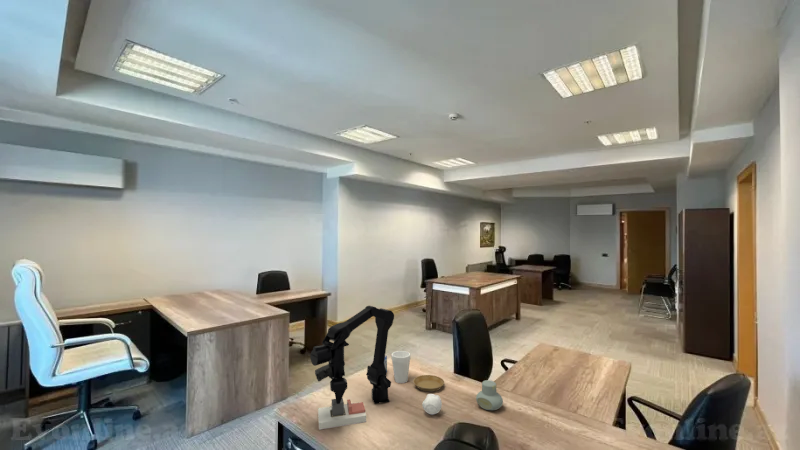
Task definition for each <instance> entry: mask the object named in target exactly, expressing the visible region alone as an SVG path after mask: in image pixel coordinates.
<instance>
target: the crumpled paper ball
mask: <svg viewBox="0 0 800 450" xmlns="http://www.w3.org/2000/svg"><path fill="white" fill-rule="evenodd" d="M442 403H443V402H442V399H441V396H440V395H438V394H434V393H428V394H426V397H425V399H424V400H423V401H422V404H421V407H422V409H423V411H424V412H425V413H427V414H428V415H437V414H438V413H439V412H440V411H441V409H442Z"/></svg>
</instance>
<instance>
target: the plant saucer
mask: <svg viewBox="0 0 800 450" xmlns="http://www.w3.org/2000/svg"><path fill="white" fill-rule="evenodd" d="M412 382H413V384H414V386H416V388H418V389H419V390H421V391H423V392H428V393H429V392H437V391H439V390H440V389H441V388H442V387H443V386H444V384H445V380H444V379H443V378H442V377H440V376H437V375H433V374H432V375H431V374H424V375H419V376H416V377H415V378H414V379H413V381H412Z"/></svg>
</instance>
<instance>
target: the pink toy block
mask: <svg viewBox="0 0 800 450" xmlns="http://www.w3.org/2000/svg"><path fill="white" fill-rule="evenodd" d="M359 402H360V403H358V402H352V401H351V399H350V398H349V399H347V400H346V404H347V407H348V412H349V414H356V413H362V412H365V413H366V408H365V405H364V401H359ZM351 403H353V404H351Z"/></svg>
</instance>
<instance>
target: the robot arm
mask: <svg viewBox="0 0 800 450" xmlns="http://www.w3.org/2000/svg"><path fill="white" fill-rule="evenodd" d="M372 317H373V318H374V319H375V321H374V322H375V325H376V328H377V329H376V338H375V345H374V353H373V359H372V360H373V361H372V362H371V364H370V365H367V369H366V370H367V371H366V378H367V380H368V382H369V383H370V385H372V388H371V400H372V401H373V403H374V404H375V405H376V404H384V403H388V402H390V399H389V388H391V386H392V381H391V380H390V379H389V378H387V372H386V368H385V365H384V360H385V355H386V351H387V344H388V337H389V330H390V329H391V327H392V325H393V323H394V320H395V314H394V312H393V310H389V309H386V308H377V307H375V306H373V305H367V306H366V307H365V308H363V309H362V310H360V311H359V312H357V313H356V314H355V315H353V316H351V317H350V318H348V319H346V320H345V321H343V322H339V323H335V324H334V325H331V326H329V328H328V329H327V333H326V335H325V336H324V338H323V340H322V342H321V345H316V346H313V348H312V350H311V353H310V357H309V358H310V362H311V364H312V365H313V366H315V367H316V366H319V365H322V364H324V365H322V366H320V367H318V368H316V369H315V371H314V374H315V377H316V380H317V381H318V382H321V381H323V380H324V379H326V378H328V377H329V379H330V382H329V387H330V392H333V393H334V396H335V397H334V398H335V399H336V402H337V404H340V402H341V399H342V398H343V397H344V394H345V393H346V390H347V389H348V381H347V379H346V378H345V377H344V376H346V372H345V365H346V362H345V347H348V346H350V343H348V342H347V341H346V340H347V339H348V338H349V337H350V335H351V334H352V332H353V331H354V330H357V328H359V327H360V326H361V325H363V324H364V323H365V322H367V321H368V320H370V319H372ZM326 363H327V364H326ZM325 364H326V365H325Z"/></svg>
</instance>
